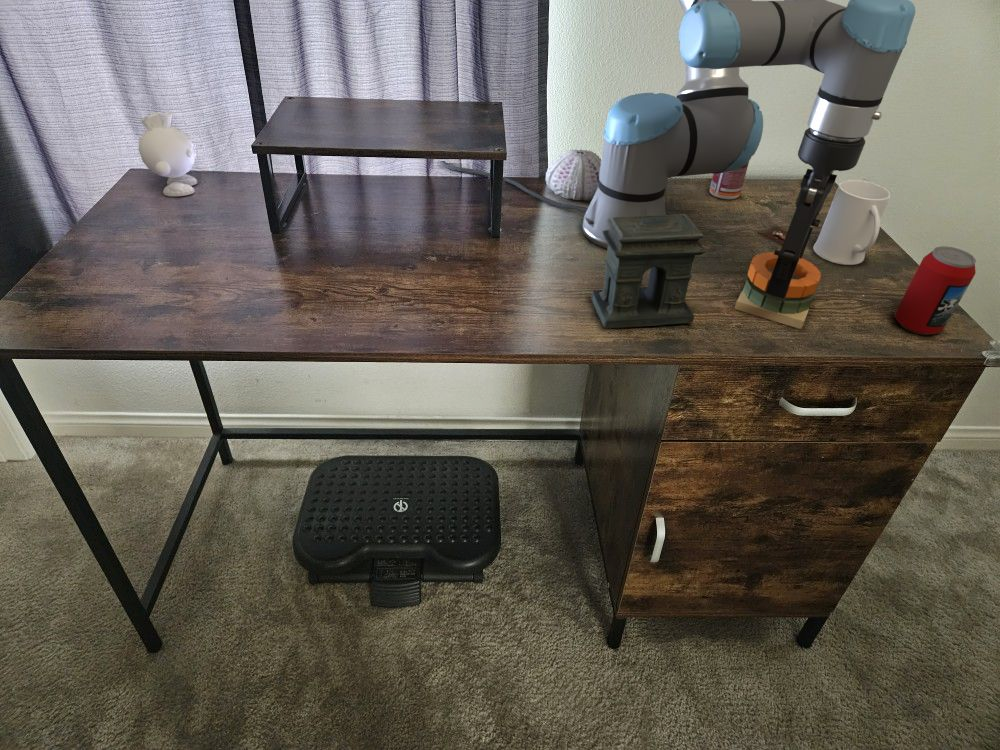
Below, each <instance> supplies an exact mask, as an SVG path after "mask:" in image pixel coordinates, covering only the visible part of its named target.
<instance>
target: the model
mask: <svg viewBox="0 0 1000 750" xmlns="http://www.w3.org/2000/svg"><path fill="white" fill-rule="evenodd" d="M607 222H608V223H609V225H610V230H605V231H602V233H603V235H604V238H605V240H606V241H607V243H608V249H607V252H606V257H605V259H604V264H605V271H604V277H603V285H602V289H600V290H593V291H592V292H591V298H590V299H591V302H592V304H593V306H594V308H595V311H596V313H597V315H598V318H599V320H600V322H601V324H602V327H603V328H604V329H617V328H637V327H653V326H665V325H666V326H667V325H679V324H680V325H681V324H692V323H693V322H694V319H695V315H694V313H693V311H692V310H691V308H690V306H689V305H688V304H687V302H686V296H687V291H688V286H689V282H690V281H691V280H692V278H693V275H692V268H693V263H694V261H695V258H696V256H703V255H704V254H706V253H707V249H706V247H704V246H703V244H702V243H701V242H700V241H699V240H702V239H704V238H705V235H704V234H703V233H702V231H701V230H700V229H699V228H698V227H697V225H696V224H695V223H694V222H693V220H691V218H690V217H689V216H688V215H687V214H685V213H682V214H680V213H678V214H666V215H657V216H635V217H613V218H610V219H608V220H607ZM649 270H650V271H649ZM647 271H649V277H648V283H647V286H644V287H642V283H643V277H644V274H645V273H646V272H647Z"/></svg>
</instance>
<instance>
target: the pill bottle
mask: <svg viewBox="0 0 1000 750" xmlns="http://www.w3.org/2000/svg"><path fill="white" fill-rule="evenodd" d="M749 163H750V161H749V162H748V163H747V164H746V165H744V166H743V167H741V168H739V169H737V170H734V171H727V172H723V173H721V174H712V178H711V181H710V186H709V193H710V194H711V196H713V197H715V198H717V199H722V200H736V199H737V198H739V197H740V195H741V193H742V190H743V187H744V186H743V185H744V183H745V178H746V175H747V171H748V167H749Z"/></svg>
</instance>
